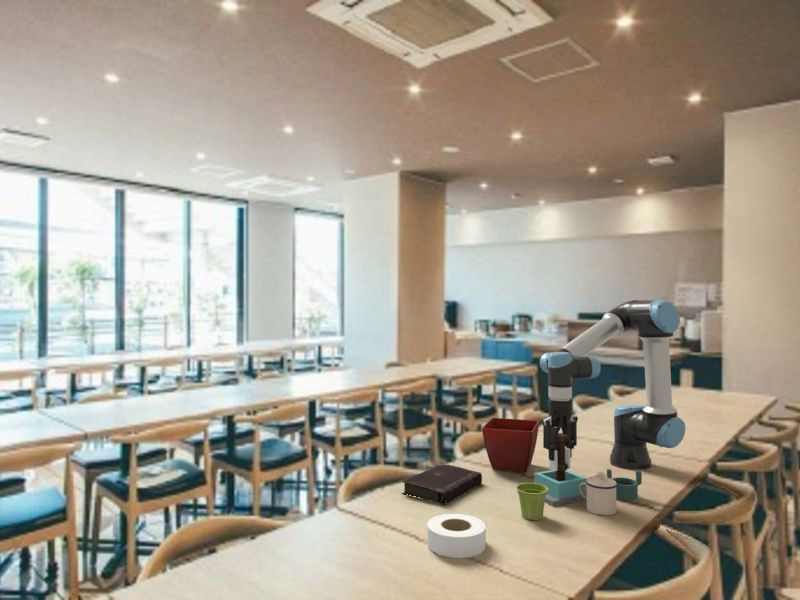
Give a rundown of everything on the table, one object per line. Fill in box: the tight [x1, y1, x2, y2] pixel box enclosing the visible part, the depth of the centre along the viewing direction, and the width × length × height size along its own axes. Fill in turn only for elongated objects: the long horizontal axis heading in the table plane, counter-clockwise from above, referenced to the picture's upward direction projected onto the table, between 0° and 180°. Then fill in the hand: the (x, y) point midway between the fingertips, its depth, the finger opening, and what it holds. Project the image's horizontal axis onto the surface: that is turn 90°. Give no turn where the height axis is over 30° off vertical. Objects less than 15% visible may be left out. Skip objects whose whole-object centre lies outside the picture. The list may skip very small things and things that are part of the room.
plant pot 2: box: [515, 482, 548, 521], centre depth 165 cm, size 9×9×9 cm
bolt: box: [555, 432, 569, 481], centre depth 183 cm, size 6×5×15 cm
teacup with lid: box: [579, 471, 617, 517], centre depth 170 cm, size 12×9×12 cm
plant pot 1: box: [481, 417, 540, 474], centre depth 213 cm, size 19×19×17 cm
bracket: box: [606, 468, 643, 502], centre depth 181 cm, size 9×9×9 cm
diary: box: [400, 463, 483, 506], centre depth 190 cm, size 19×25×5 cm
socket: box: [533, 469, 588, 507], centre depth 183 cm, size 18×13×6 cm
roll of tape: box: [426, 513, 487, 559], centre depth 147 cm, size 16×16×6 cm
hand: (560, 468), depth 183 cm, fingers closed on bolt, 5 cm apart
